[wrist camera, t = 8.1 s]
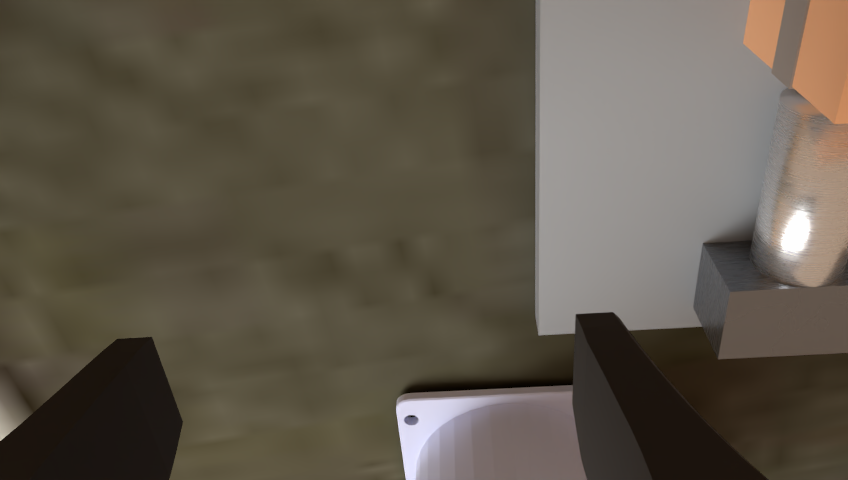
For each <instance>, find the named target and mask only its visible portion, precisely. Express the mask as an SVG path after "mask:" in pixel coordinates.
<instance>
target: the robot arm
mask: <svg viewBox="0 0 848 480" xmlns="http://www.w3.org/2000/svg"><path fill="white" fill-rule="evenodd" d="M396 412H397V420H398V427H399V434H400V441H401V448H402V455H403V462H404V469H405V476H406V480H768V479H767V478H766V477H765V476H764V475H763V474H761V473H760V472H759V471H758V470H757V469H756V468H755V467H753V466H752V465H751V464H750V463H749V462H748V461H747V460H746V459H745V458H744V457H742V456H741V455H740V454H739V453H738V452H737V451H736V450H735V449H734V448H733V447H732V446H731V445H730V444H729V443H728V442H727V441H726V440H725V439H724V438H723V437H722V436H721V435H720V434H719V433H718V432H717V431H716V430H715V429H714V428H713V427H712V426H711V425H710V424H709V423H708V422H707V421H706V420H705V419H704V418H703V417H702V416H701V415H700V414H699V413H698V412H697V411H696V410H695V409H694V408H693V407H692V406H691V405H690V403H689V402H688V401H687V400H686V399H685V398H684V397H683V396H682V395H681V393H680V392H679V391H678V390H677V389H676V388H675V387H674V386H673V384H672V383H671V382H670V381H669V380H668V379H667V378H666V377H665V375H664V374H663V373H662V372H661V371H660V369H659V368H658V367H657V366H656V365H655V363H654V362H653V361H652V360H651V358H650V357H649V356H648V355H647V354H646V352H645V351H644V350H643V349H642V347H641V346H640V345H639V343H638V342H637V341H636V340H635V338H634V337H633V336H632V334H631V333H630V332H629V330H628V329H627V328H626V326H625V325H624V324H623V322H622V321H621V319H620V318H619V317H618V316H617V315H616V314H615V313H613V312H605V313H586V314H576V319H575V345H574V370H573V385H564V386H543V387H523V388H503V389H482V390H462V391H441V392H421V393H407V394H403V395H401V396H400V397H399V398H398V399H397V404H396ZM408 415H415V416H416V417H408ZM182 423H183V421H182V418H181V416H180V413H179V410H178V408H177V405H176V402H175V399H174V397H173V394H172V391H171V388H170V386H169V383H168V380H167V377H166V375H165V372H164V369H163V366H162V364H161V361H160V358H159V355H158V353H157V350H156V347H155V345H154V342H153V339H152V337H145V338H127V339H117V340H116V341H114V342H113V343H112V344H111V345H109V346H108V347H107V348H106V349H105V350H103V351H102V352H101V353H100V354H99V355H98V356H97V357H95V358H94V359H93V360H92V361H91V362H90V363H89V364H88V365H86V366H85V367H84V368H83V369H82V370H81V371H80V372H79V373H78V374H76V375H75V376H74V377H73V378H72V379H71V380H70V381H69V382H68V383H67V384H65V385H64V386H63V387H62V388H61V389H60V390H59V391H58V392H57V393H55V394H54V395H53V396H52V397H51V398H50V399H49V400H47V401H46V402H45V403H44V404H43V405H42V406H41V407H40V408H38V409H37V410H36V411H35V412H34V413H33V414H32V415H31V416H29V417H28V418H27V419H26V420H25V421H24V422H23V423H22V424H20V425H19V426H18V427H17V428H16V429H14V430H13V431H12V432H11V433H10V434H8V435H7V436H6V437H5V438H4V439H2V440H1V441H0V480H169V478H170V474H171V470H172V466H173V462H174V459H175V455H176V450H177V446H178V441H179V437H180V432H181V428H182Z"/></svg>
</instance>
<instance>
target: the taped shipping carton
mask: <svg viewBox="0 0 848 480" xmlns="http://www.w3.org/2000/svg"><path fill="white" fill-rule="evenodd" d="M743 44H744V45H745V46H746V47H748V48H749V49H750V50H751V51H752V52H753V53H754V54H755V55H757V56H758V57H759V58H760V59H761V60H762V61H763V62H765V63H766V64H767V65H768V66H769V67H770V68H771V69H772V72H771V73H772V74H773V75H774V76H775V77H776V78H777V79H778V80H780V81H781V82H782V83H783V84H784V85H785V86H786V87H787V88H788V89H795V90H796V91H797V92H798V93H800V94H801V95H802V96H803V97H804V98H805V99H806V100H808V101H809V102H810V103H811V104H812V105H813V106H814V107H815V108H817V109H818V110H819V111H820V112H821V113H822V114H823V115H824V116H826V117H827V118H828V119H829V120H830V121H831V122H832V123H834V124H848V0H750V5H749V11H748V17H747V22H746V28H745V34H744V40H743Z"/></svg>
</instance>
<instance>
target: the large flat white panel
mask: <svg viewBox="0 0 848 480" xmlns="http://www.w3.org/2000/svg"><path fill="white" fill-rule="evenodd" d="M749 5H750V0H536V150H535V317H536V323H537V328H538V334H539V335H553V334H572V333H575V319H576V314H586V313H605V312H613V313H615V314H616V315H617V316H618V317H619V318H620V319H621V321H622V322H623V324H624V325H625V326H626V328H627V329H628V330H648V329H667V328H686V327H702V325H701V323H700V321H699V319H698V317H697V315H696V313H695V311H694V308H693V304H694V298H695V291H696V284H697V277H698V271H699V264H700V257H701V250H702V244H703V243H715V242H732V241H749V240H752V239H753V233H754V228H755V223H756V218H757V213H758V207H759V202H760V197H761V192H762V186H763V181H764V176H765V171H766V166H767V160H768V155H769V150H770V145H771V139H772V134H773V129H774V124H775V119H776V113H777V108H778V103H779V98H780V94H781V92H782V91H783V90H785V89H787V87H786V86H785V85H784V84H783V83H782V82H781V81H780V80H778V79H777V78H776V77H775V76H774V75H773V74H772V73H771V72H772V69H771V68H770V67H769V66H768V65H767V64H766V63H765V62H763V61H762V60H761V59H760V58H759V57H758V56H757V55H755V54H754V53H753V52H752V51H751V50H750V49H749V48H748V47H746V46H745V45H744V44H743V40H744V34H745V28H746V22H747V17H748V11H749Z"/></svg>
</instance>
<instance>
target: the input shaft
mask: <svg viewBox="0 0 848 480" xmlns="http://www.w3.org/2000/svg"><path fill="white" fill-rule="evenodd" d="M693 308H694V311H695V313H696V315H697V317H698V319H699V321H700V323H701V325H702V327H703V329H704V331H705V333H706V336H707V338H708V340H709V342H710V344H711V346H712V348H713V350H714V352H715V354H716V356H717V358H718V359H735V358H755V357H775V356H795V355H814V354H834V353H848V124H834V123H832V122H831V121H830V120H829V119H828V118H827V117H826V116H824V115H823V114H822V113H821V112H820V111H819V110H818V109H817V108H815V107H814V106H813V105H812V104H811V103H810V102H809V101H808V100H806V99H805V98H804V97H803V96H802V95H801V94H800V93H798V92H797V91H796V90H795V89H788V88H787V89H785V90H783V91H782V92H781V94H780V98H779V103H778V108H777V113H776V119H775V124H774V129H773V134H772V139H771V145H770V150H769V155H768V160H767V166H766V171H765V176H764V181H763V186H762V192H761V197H760V202H759V207H758V213H757V218H756V223H755V228H754V233H753V239H752V240H749V241H732V242H715V243H703V244H702V250H701V257H700V264H699V271H698V277H697V284H696V291H695V298H694V304H693Z"/></svg>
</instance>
